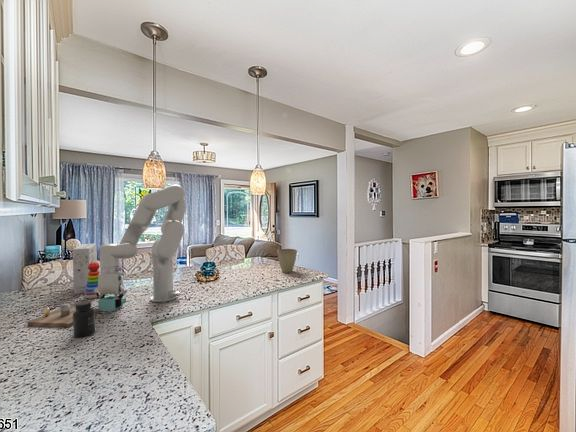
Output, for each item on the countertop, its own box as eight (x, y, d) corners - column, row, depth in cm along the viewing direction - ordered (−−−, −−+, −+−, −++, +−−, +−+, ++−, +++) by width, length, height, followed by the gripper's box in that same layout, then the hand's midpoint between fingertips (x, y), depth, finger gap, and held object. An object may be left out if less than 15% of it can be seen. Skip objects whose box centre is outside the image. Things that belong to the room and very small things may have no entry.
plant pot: (298, 273, 201) (298, 251, 200) (278, 274, 199) (278, 251, 198) (295, 268, 216) (295, 248, 215) (276, 269, 214) (276, 248, 213)
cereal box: (90, 292, 158) (89, 248, 157) (73, 293, 154) (72, 249, 153) (97, 282, 177) (96, 243, 176) (82, 283, 174) (81, 244, 173)
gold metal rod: (50, 315, 120) (49, 307, 120) (47, 316, 119) (46, 308, 119) (47, 315, 120) (46, 307, 120) (44, 316, 119) (43, 308, 119)
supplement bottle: (92, 328, 111) (91, 298, 111) (97, 333, 107) (97, 302, 106) (70, 334, 106) (70, 303, 105) (76, 339, 102) (75, 307, 101)
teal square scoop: (112, 311, 129) (112, 300, 129) (98, 310, 130) (98, 300, 129) (130, 301, 142) (130, 291, 142) (117, 301, 143) (117, 291, 142)
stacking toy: (93, 299, 145) (92, 264, 144) (80, 298, 146) (79, 263, 146) (106, 294, 152) (105, 261, 152) (94, 293, 154) (93, 260, 153)
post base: (98, 312, 128) (98, 299, 128) (69, 327, 112) (68, 312, 112) (62, 310, 129) (62, 298, 129) (27, 325, 113) (27, 311, 113)
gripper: (132, 268, 135) (133, 304, 136) (98, 267, 137) (99, 303, 137) (121, 272, 128) (122, 310, 128) (86, 271, 129) (87, 309, 130)
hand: (110, 306), depth 133 cm, fingers closed on teal square scoop, 7 cm apart
